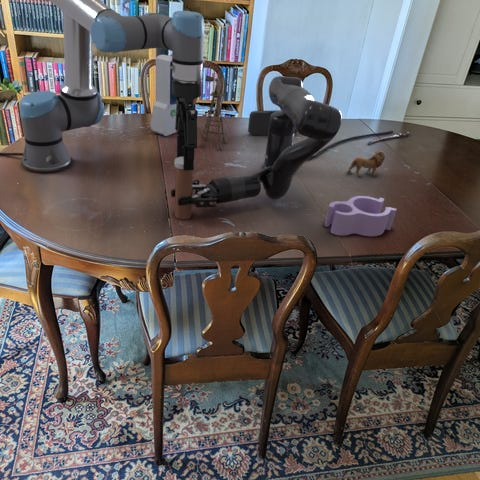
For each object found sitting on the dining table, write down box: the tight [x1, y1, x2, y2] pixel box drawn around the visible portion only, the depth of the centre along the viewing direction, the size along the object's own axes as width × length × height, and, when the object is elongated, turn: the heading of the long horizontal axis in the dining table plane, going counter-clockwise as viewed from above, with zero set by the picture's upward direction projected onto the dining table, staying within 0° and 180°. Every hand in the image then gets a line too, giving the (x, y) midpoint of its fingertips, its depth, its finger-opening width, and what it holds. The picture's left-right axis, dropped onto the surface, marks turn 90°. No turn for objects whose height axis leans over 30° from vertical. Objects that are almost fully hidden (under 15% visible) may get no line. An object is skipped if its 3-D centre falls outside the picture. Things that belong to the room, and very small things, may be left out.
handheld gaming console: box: [247, 110, 298, 136], centre depth 202 cm, size 23×3×10 cm, turn 108°
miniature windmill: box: [199, 67, 226, 150], centre depth 180 cm, size 9×8×30 cm
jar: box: [174, 167, 194, 220], centre depth 134 cm, size 5×5×17 cm
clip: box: [324, 195, 398, 237], centre depth 141 cm, size 20×12×7 cm, turn 109°
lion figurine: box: [346, 150, 386, 178], centre depth 174 cm, size 15×5×9 cm, turn 110°
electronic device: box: [149, 54, 177, 137], centre depth 188 cm, size 12×8×30 cm, turn 148°
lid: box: [173, 157, 195, 169], centre depth 130 cm, size 6×6×2 cm
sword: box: [367, 133, 409, 145], centre depth 213 cm, size 31×3×1 cm, turn 126°
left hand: (185, 163), depth 130 cm, fingers open, 7 cm apart
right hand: (175, 197), depth 135 cm, fingers closed on jar, 5 cm apart
